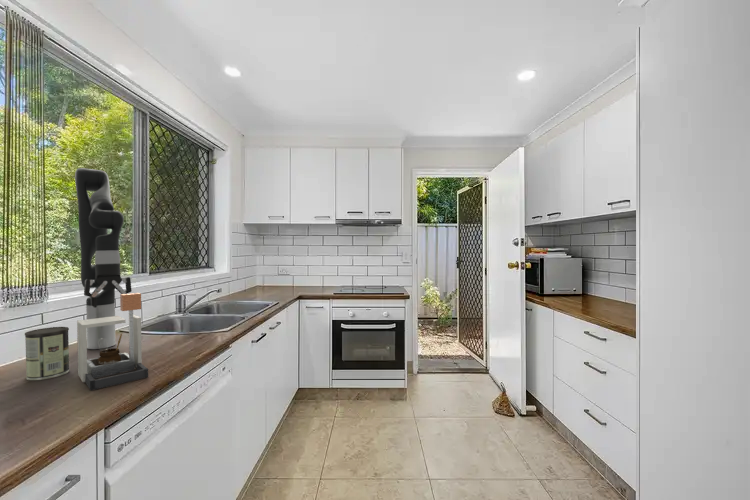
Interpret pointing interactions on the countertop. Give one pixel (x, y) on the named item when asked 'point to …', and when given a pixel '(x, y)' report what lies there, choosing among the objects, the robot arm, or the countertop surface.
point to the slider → (127, 360)
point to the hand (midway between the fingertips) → (108, 305)
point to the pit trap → (116, 378)
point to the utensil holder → (109, 354)
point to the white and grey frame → (96, 322)
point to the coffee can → (47, 353)
